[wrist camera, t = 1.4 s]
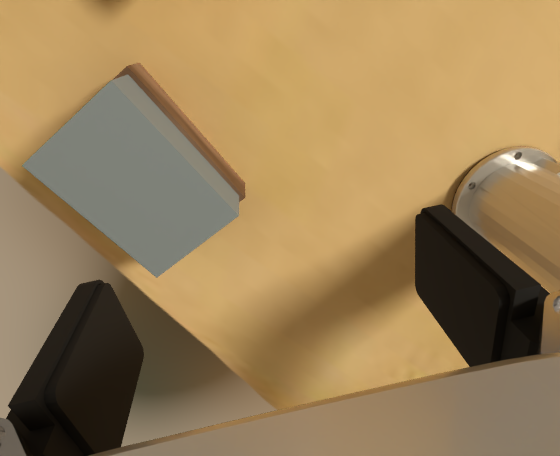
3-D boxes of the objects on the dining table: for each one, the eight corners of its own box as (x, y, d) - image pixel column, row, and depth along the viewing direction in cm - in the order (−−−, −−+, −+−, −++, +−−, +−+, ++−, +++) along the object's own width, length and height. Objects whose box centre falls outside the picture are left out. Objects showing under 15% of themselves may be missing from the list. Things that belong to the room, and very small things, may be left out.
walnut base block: (140, 62, 34) (127, 66, 30) (244, 181, 40) (245, 197, 36) (61, 136, 36) (39, 149, 32) (171, 238, 43) (164, 259, 39)
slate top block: (128, 74, 30) (111, 80, 26) (239, 195, 36) (238, 215, 32) (48, 149, 32) (21, 165, 28) (165, 252, 38) (156, 277, 34)
